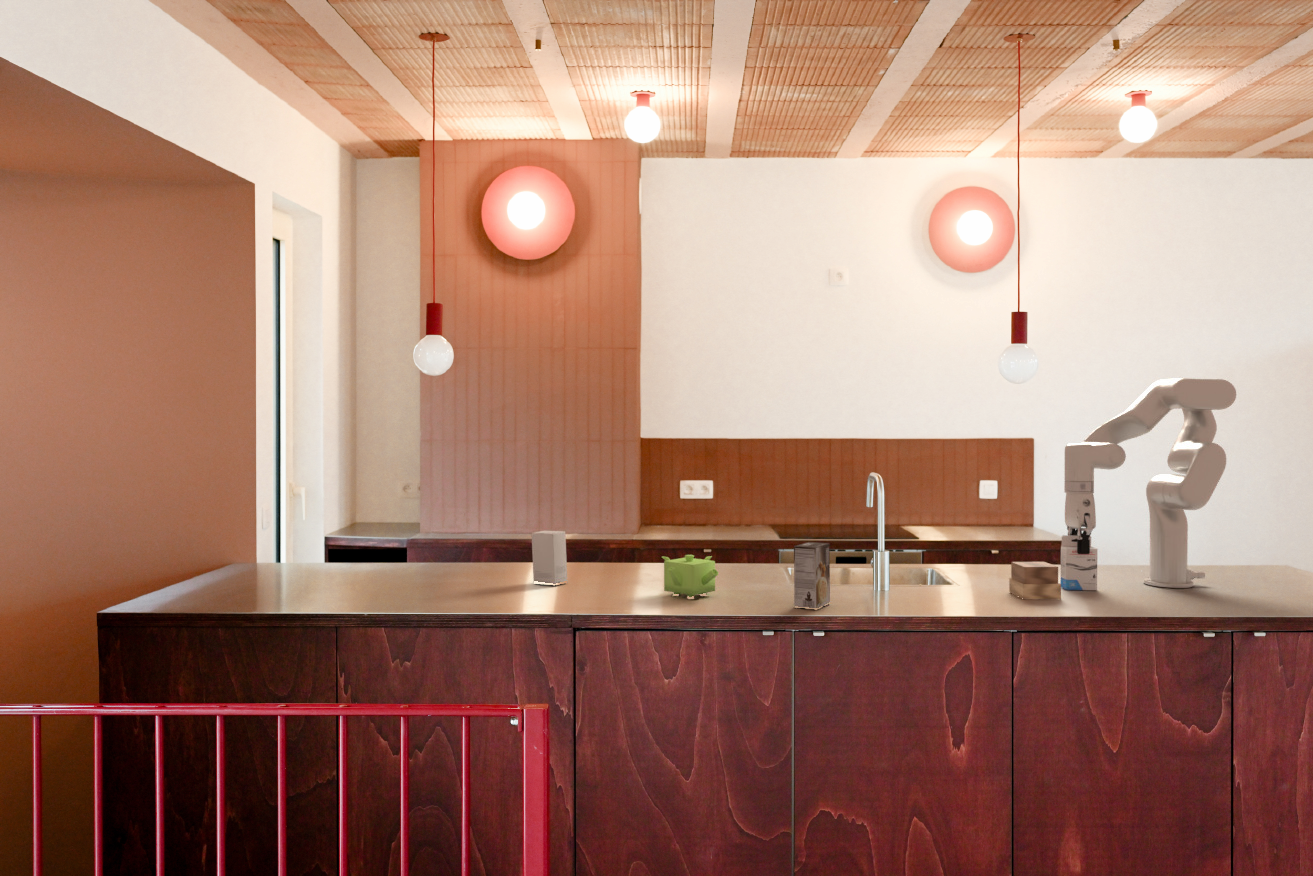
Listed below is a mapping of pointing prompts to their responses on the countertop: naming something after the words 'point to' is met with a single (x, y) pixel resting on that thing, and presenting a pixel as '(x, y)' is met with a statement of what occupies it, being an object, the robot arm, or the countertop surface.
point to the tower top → (1034, 572)
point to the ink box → (1077, 566)
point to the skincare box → (549, 556)
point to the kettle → (689, 575)
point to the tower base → (1035, 590)
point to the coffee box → (811, 574)
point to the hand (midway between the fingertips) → (1078, 551)
